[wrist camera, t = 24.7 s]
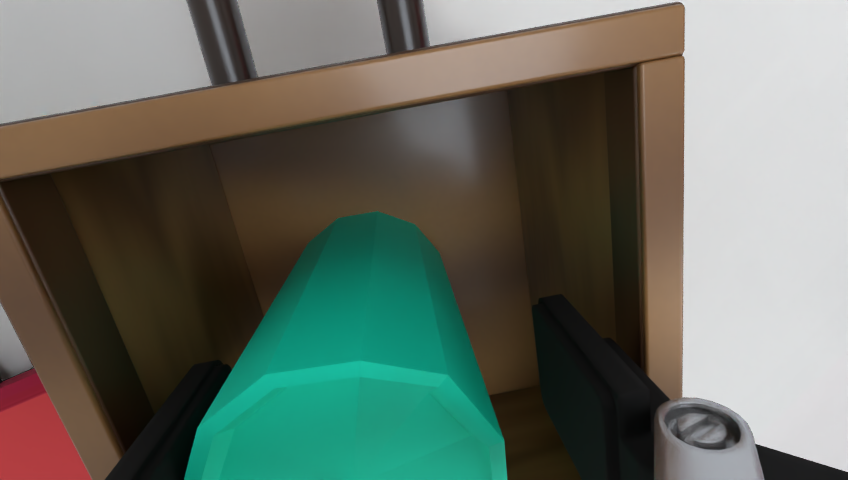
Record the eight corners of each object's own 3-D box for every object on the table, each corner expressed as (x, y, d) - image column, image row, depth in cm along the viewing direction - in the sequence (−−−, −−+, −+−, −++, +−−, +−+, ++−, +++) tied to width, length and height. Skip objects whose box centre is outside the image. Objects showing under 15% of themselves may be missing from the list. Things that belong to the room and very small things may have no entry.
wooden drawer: (137, -32, 15) (-305, -273, 5) (505, -97, 15) (694, -437, 6) (290, 437, 21) (207, 710, 11) (552, 386, 21) (683, 613, 11)
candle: (391, 371, 19) (393, 769, 8) (268, 301, 18) (46, 657, 6) (474, 264, 18) (626, 544, 6) (350, 180, 16) (262, 345, 5)
